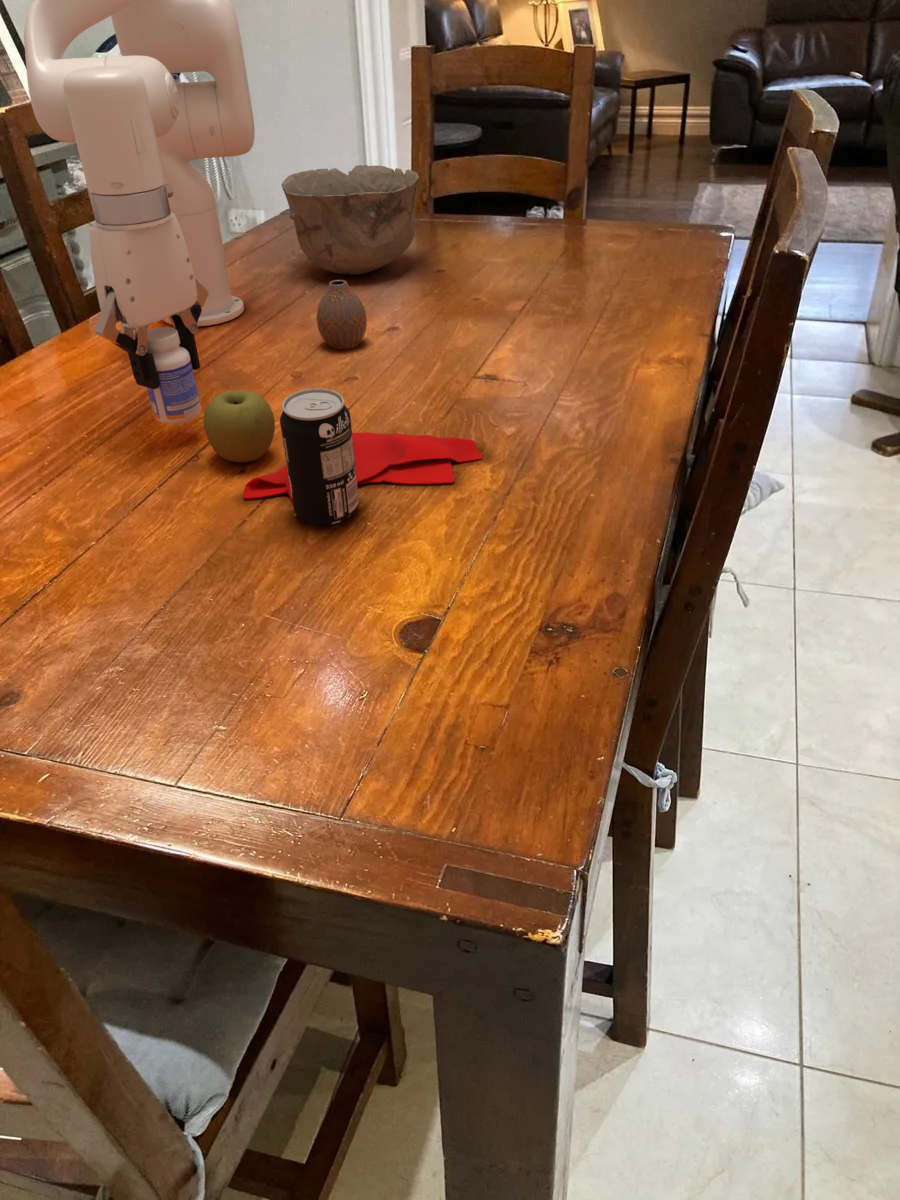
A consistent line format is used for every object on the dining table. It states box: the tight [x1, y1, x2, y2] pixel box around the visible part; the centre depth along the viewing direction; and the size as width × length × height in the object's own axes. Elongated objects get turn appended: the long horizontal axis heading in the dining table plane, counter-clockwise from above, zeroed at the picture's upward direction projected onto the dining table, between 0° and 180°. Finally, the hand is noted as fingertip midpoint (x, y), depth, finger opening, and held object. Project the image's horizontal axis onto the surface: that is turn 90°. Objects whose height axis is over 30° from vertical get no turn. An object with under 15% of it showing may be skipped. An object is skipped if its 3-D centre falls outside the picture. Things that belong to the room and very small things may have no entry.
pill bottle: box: [146, 326, 202, 425], centre depth 105 cm, size 5×5×10 cm
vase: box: [316, 279, 368, 350], centre depth 130 cm, size 7×7×9 cm
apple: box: [203, 389, 276, 463], centre depth 103 cm, size 8×8×7 cm
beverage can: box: [279, 388, 360, 526], centre depth 90 cm, size 7×7×12 cm
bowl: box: [281, 164, 420, 276], centre depth 157 cm, size 22×22×15 cm
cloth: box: [242, 432, 484, 504], centre depth 102 cm, size 26×14×2 cm, turn 99°
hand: (168, 375), depth 105 cm, fingers closed on pill bottle, 5 cm apart
